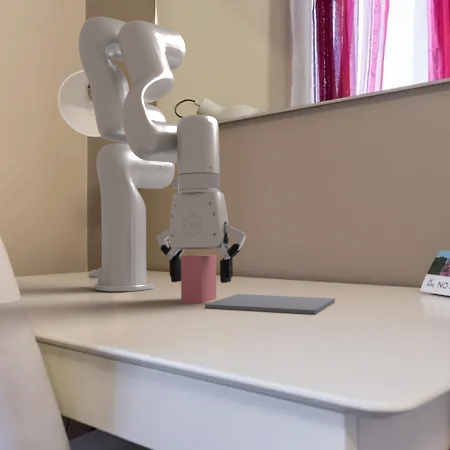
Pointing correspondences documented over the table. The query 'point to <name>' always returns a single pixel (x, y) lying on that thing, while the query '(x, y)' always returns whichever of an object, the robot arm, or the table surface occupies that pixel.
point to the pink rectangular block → (198, 278)
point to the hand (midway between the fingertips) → (200, 281)
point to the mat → (272, 303)
